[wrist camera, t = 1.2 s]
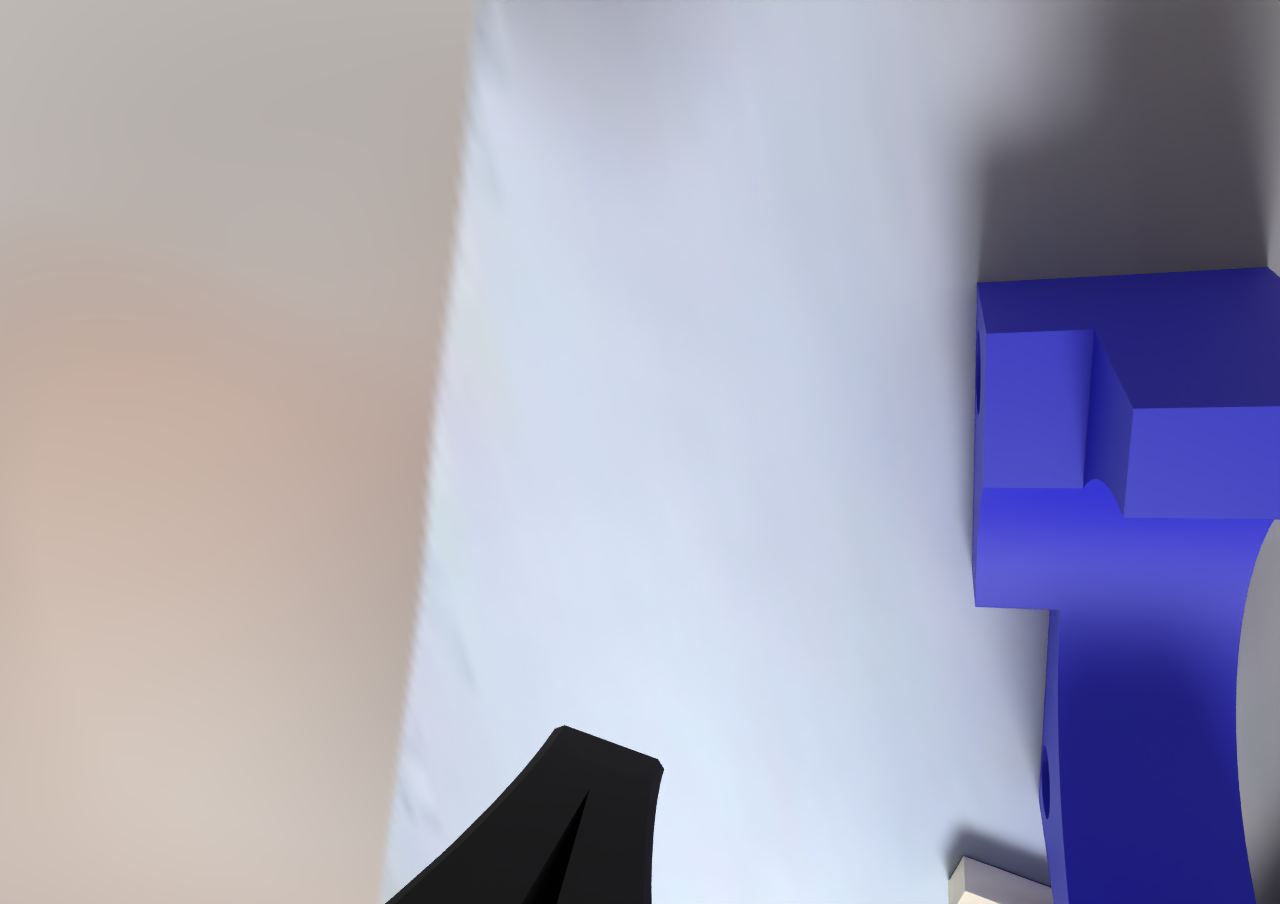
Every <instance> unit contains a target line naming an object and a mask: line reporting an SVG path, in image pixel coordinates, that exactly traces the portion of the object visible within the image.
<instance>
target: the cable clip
mask: <svg viewBox="0 0 1280 904" xmlns="http://www.w3.org/2000/svg"><path fill="white" fill-rule="evenodd" d="M1274 519H1280V277H1279V276H1277V275H1276V274H1275V273H1274V272H1273V271H1271V270H1270V269H1269V268H1268V267H1263V268H1245V269H1226V270H1207V271H1189V272H1170V273H1152V274H1133V275H1114V276H1096V277H1077V278H1059V279H1040V280H1021V281H1003V282H984V283H977V319H976V378H975V437H974V496H973V554H972V573H973V585H974V597H975V607H994V608H1020V609H1047V610H1050V615H1049V632H1048V649H1047V667H1046V684H1045V702H1044V719H1043V736H1042V754H1041V771H1040V788H1039V803H1040V810H1041V817H1042V824H1043V831H1044V838H1045V845H1046V852H1047V859H1048V866H1049V873H1050V880H1051V887H1052V894H1053V901H1054V904H1256V900H1255V895H1254V890H1253V884H1252V879H1251V874H1250V868H1249V862H1248V855H1247V849H1246V843H1245V835H1244V827H1243V820H1242V812H1241V801H1240V791H1239V780H1238V765H1237V745H1236V681H1237V665H1238V651H1239V642H1240V633H1241V625H1242V619H1243V613H1244V606H1245V601H1246V597H1247V592H1248V587H1249V583H1250V579H1251V576H1252V572H1253V568H1254V565H1255V562H1256V559H1257V556H1258V553H1259V550H1260V548H1261V545H1262V543H1263V540H1264V538H1265V536H1266V534H1267V532H1268V529H1269V528H1270V526H1271V524H1272V522H1273V521H1274Z"/></svg>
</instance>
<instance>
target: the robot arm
mask: <svg viewBox="0 0 1280 904" xmlns="http://www.w3.org/2000/svg"><path fill="white" fill-rule="evenodd" d="M663 771H664V768H663V767H662V765H661V763H660V762H659V760H658V759H656V758H653V757H650V756H648V755H645V754H642V753H639V752H637V751H634V750H631V749H628V748H626V747H623V746H620V745H617V744H615V743H612V742H609V741H606V740H604V739H601V738H598V737H596V736H593V735H590V734H587V733H585V732H582V731H579V730H576V729H574V728H571V727H568V726H565V725H564V726H561V727H559V728H556V729H554V731H553V732H552V733H551V735H550V736H549V738H548V739H547V741H546V742H545V743H544V745H543V746H542V747H541V748H540V750H539V751H538V752H537V754H536V755H535V756H534V757H533V759H532V760H531V761H530V762H529V763H528V765H527V766H526V767H525V768H524V769H523V771H522V772H521V773H520V774H519V775H518V776H517V777H516V779H515V780H514V781H513V782H512V783H511V784H510V785H509V786H508V787H507V788H506V790H505V791H504V792H503V793H502V794H501V795H500V796H499V797H498V798H497V799H496V800H495V801H494V803H493V804H492V805H491V806H490V807H489V808H488V809H487V810H486V811H485V812H484V813H483V814H482V815H481V816H480V817H479V818H478V819H477V820H476V821H475V822H474V823H473V824H472V825H471V826H470V827H469V828H468V829H467V830H466V831H465V832H464V833H463V834H462V835H461V836H460V837H459V838H458V839H457V840H456V841H455V842H454V843H453V844H452V845H450V846H449V847H448V848H447V849H446V850H445V851H444V852H443V853H442V854H441V855H440V856H439V857H437V858H436V859H435V860H434V861H433V862H432V863H431V864H430V865H429V866H427V867H426V868H425V869H424V870H423V871H422V872H421V873H420V874H418V875H417V876H416V877H415V878H414V879H413V880H412V881H411V882H409V883H408V884H407V885H406V886H405V887H404V888H403V889H402V890H400V891H399V892H398V893H397V894H396V895H395V896H394V897H392V898H391V899H390V900H389V901H388V902H387V903H385V904H652V897H651V878H652V851H653V834H654V823H655V813H656V805H657V799H658V793H659V788H660V783H661V778H662V775H663Z"/></svg>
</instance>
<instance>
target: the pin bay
mask: <svg viewBox="0 0 1280 904" xmlns="http://www.w3.org/2000/svg"><path fill="white" fill-rule="evenodd" d="M948 894H949V904H1054V901H1053V894H1052V888H1050V887H1047V886H1045V885H1042V884H1039V883H1036V882H1034V881H1031V880H1028V879H1025V878H1023V877H1020V876H1017V875H1014V874H1012V873H1009V872H1006V871H1003V870H1001V869H998V868H995V867H992V866H990V865H987V864H984V863H981V862H979V861H976V860H973V859H970V858H968V857H965V856H963V858H962V860H961V861H960V863H959V865H958V866H957V868H956V870H955V872H954V873H953V875H952V877H951V878H950V880H949V882H948Z"/></svg>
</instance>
